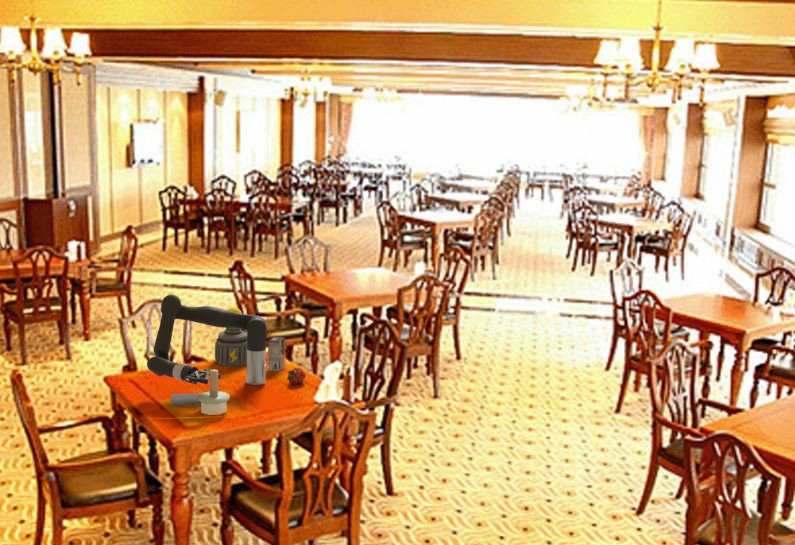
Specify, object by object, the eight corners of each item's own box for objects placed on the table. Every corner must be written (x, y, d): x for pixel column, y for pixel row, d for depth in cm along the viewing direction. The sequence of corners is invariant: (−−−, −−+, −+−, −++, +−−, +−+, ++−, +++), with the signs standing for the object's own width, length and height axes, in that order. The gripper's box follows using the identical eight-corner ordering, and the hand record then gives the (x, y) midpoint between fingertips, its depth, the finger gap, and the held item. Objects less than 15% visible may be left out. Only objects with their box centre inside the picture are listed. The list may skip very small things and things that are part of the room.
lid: (229, 393, 392) (229, 365, 390) (230, 403, 379) (230, 375, 376) (197, 393, 389) (197, 366, 387) (197, 404, 376) (197, 375, 373)
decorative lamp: (251, 367, 452) (252, 311, 446) (215, 367, 447) (215, 311, 442) (249, 356, 470) (250, 303, 464) (214, 357, 465) (214, 303, 460)
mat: (206, 394, 407) (206, 393, 406) (206, 406, 391) (206, 405, 391) (171, 395, 403) (171, 394, 403) (170, 407, 388) (170, 406, 388)
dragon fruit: (290, 390, 424) (298, 386, 435) (304, 381, 422) (311, 377, 434) (282, 375, 424) (289, 371, 436) (296, 366, 423) (303, 363, 434)
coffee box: (273, 365, 456) (274, 336, 453) (285, 366, 455) (285, 337, 452) (267, 370, 447) (268, 340, 444) (279, 371, 446) (279, 341, 443)
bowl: (225, 406, 392) (226, 394, 391) (226, 415, 381) (226, 402, 380) (201, 407, 389) (201, 394, 388) (201, 416, 379) (201, 403, 378)
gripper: (174, 368, 383) (203, 375, 376) (195, 361, 395) (224, 367, 388) (174, 384, 384) (203, 391, 377) (195, 376, 397) (223, 383, 389)
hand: (213, 379), depth 382 cm, fingers open, 8 cm apart
